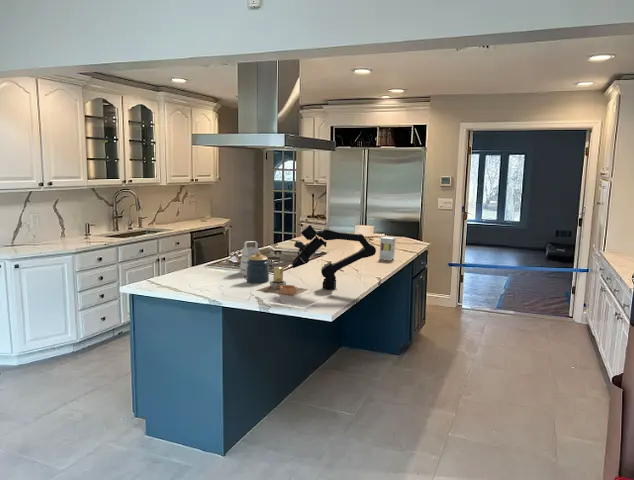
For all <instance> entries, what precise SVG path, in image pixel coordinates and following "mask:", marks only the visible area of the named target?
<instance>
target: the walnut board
mask: <svg viewBox="0 0 634 480" xmlns="http://www.w3.org/2000/svg"><path fill="white" fill-rule="evenodd" d="M308 290H309V288H302V287H297V288H296V293H295V294H281V293H280V289H272V288H271V287H270V285H268V286H264V287H262V288H260V289H256V291H257V292H263V293H269V294H277V295H284V296H289V297H294V296H296V295H300V294H302V293H304V292H306V291H308Z"/></svg>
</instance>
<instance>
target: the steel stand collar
mask: <svg viewBox="0 0 634 480" xmlns="http://www.w3.org/2000/svg"><path fill="white" fill-rule="evenodd" d="M282 285H287V282H286V281H285V280H283V283H274V280H272V281H271V280H270V281H269V286H270V287H271V288H272V289H280V286H282Z"/></svg>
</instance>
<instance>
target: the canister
mask: <svg viewBox="0 0 634 480" xmlns="http://www.w3.org/2000/svg"><path fill="white" fill-rule="evenodd" d="M248 259H249V260H248V261H247V264H248V265H247V276H246V279H245V280H246V283H250V284H251V283H252V284H265V283H268V282H270V275H269V273H270V272H269V271H270V267H269V264H270V261H269V258H268V256H266V255H262V254H261V252H260V251H259V252H257V253H256V254H255V255H252V256H250V257H249V258H248Z"/></svg>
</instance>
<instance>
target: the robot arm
mask: <svg viewBox="0 0 634 480" xmlns="http://www.w3.org/2000/svg"><path fill="white" fill-rule="evenodd" d="M300 234H301V235H302V236H303V237H304V239H306V240H307V241H310V242H309V243H303V241H301V240H296V241H295V243H294V245H293V247H295V248H297V249H298V250H297V256H296V257H295V258H294V260H293V261H292V262H291V268H292V269H295V268H298V267H300V266H303V265H304V266H305V265H306V264H308V263H309V262H310V258H311V257H312V256H313V255H314V254H316V252H317V251H318V250H319V249H320V248H321V247H322V246H324V247H325V248H327V243H328V242H327V241H335V240H343V241H351V242H352V241H353V242H359V243H360V245H361V246H362V247H361V248H360V249H359V250H358V251H357V252H354V253H352V254H351V255H348V256H347V257H345V258H343V259H340V260H339V261H337V262H334V263H332V261H329V262H328V263H325V264H323V266H322V267H321V269H320V272H321V275H322V277H324V278H323V281H322V289H323V290H327V291H335V290H336V291H338V290H337V289H338V288H337V279H336V278H337V277H336V272H338V271H339V270H341V269H343V268H346V267H347V266H350V265H352V264H353V263H355V262H357V261H359V260H361V259H366V258H371V257H373V256H375V255H376V252H377V249H376V247H375V245H373V244H371V243H369V242H368V240H367V239H366V238H365V236H364V234H362V233H351V232H343V231H341V232H340V231H336V230H334V229H330V228H323V229H322V230H316V229H314V228H313V226H312V225H311V224H309V225H308V226H307V227H305V228H304V229H303V230H301V231H300Z"/></svg>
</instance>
